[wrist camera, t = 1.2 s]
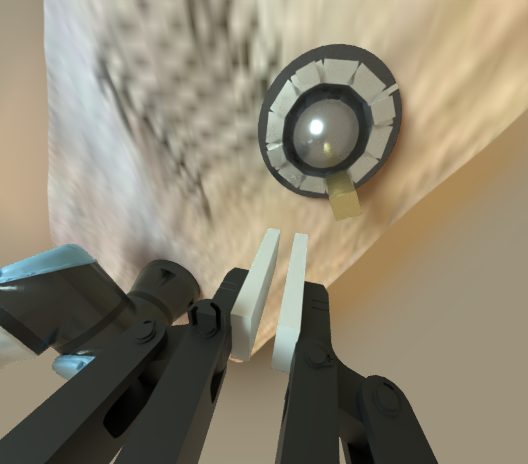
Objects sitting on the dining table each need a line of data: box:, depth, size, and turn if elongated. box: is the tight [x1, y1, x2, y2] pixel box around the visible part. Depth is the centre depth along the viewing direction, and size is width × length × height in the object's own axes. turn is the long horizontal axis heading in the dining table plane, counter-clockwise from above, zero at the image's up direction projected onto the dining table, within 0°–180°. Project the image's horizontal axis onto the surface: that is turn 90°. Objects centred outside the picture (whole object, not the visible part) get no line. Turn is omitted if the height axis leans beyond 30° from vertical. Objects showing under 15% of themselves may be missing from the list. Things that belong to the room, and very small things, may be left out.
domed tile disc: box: [266, 59, 396, 221], centre depth 22 cm, size 14×14×12 cm
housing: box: [258, 44, 402, 198], centre depth 26 cm, size 18×18×7 cm
